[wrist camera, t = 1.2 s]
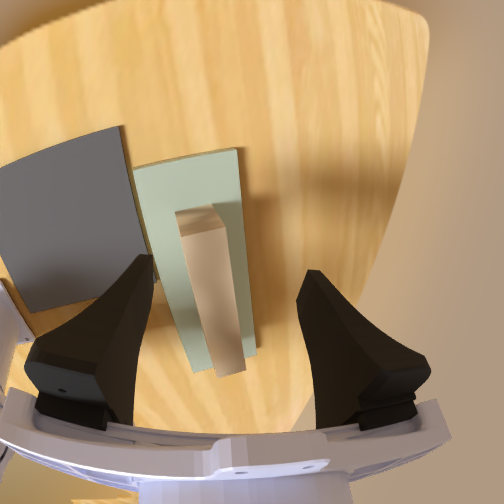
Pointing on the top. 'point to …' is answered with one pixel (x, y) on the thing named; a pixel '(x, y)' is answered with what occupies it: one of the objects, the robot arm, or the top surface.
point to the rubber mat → (69, 220)
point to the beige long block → (212, 285)
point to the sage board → (169, 245)
